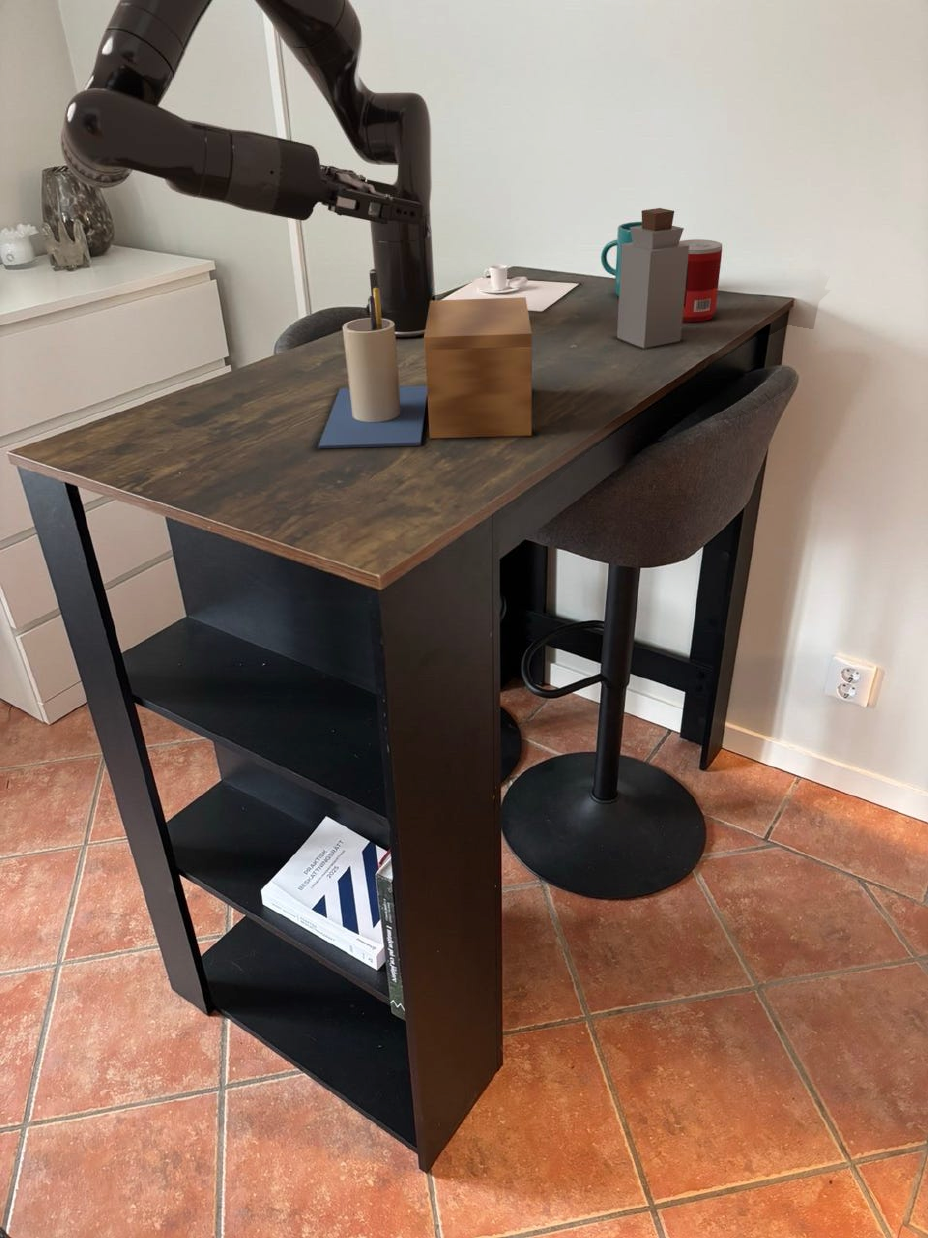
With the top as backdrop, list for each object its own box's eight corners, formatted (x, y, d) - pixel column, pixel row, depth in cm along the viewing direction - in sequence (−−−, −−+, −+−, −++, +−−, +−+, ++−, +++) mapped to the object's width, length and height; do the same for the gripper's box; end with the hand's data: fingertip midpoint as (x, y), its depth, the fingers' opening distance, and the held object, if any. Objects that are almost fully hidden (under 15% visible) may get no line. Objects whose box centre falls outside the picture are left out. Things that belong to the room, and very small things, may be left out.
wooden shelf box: (430, 438, 108) (423, 336, 102) (435, 392, 122) (430, 300, 115) (531, 435, 108) (531, 333, 101) (525, 389, 121) (525, 296, 115)
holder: (343, 419, 114) (329, 293, 105) (365, 402, 118) (353, 281, 110) (388, 424, 112) (377, 296, 103) (409, 407, 116) (400, 283, 108)
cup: (608, 285, 167) (611, 219, 161) (673, 290, 162) (678, 222, 156) (591, 297, 160) (593, 228, 154) (657, 303, 155) (663, 232, 149)
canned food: (721, 312, 149) (729, 240, 143) (704, 325, 143) (712, 250, 137) (676, 307, 152) (683, 237, 146) (658, 319, 147) (664, 247, 141)
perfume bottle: (643, 348, 134) (653, 216, 125) (616, 337, 140) (623, 209, 130) (680, 340, 137) (692, 210, 127) (652, 330, 142) (662, 204, 132)
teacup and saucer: (531, 286, 168) (531, 262, 166) (515, 296, 162) (515, 272, 160) (487, 283, 171) (487, 260, 169) (470, 293, 165) (469, 270, 163)
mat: (318, 448, 107) (318, 445, 107) (340, 390, 124) (340, 388, 124) (420, 445, 107) (420, 442, 106) (428, 388, 123) (428, 385, 123)
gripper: (289, 150, 90) (438, 184, 97) (257, 123, 100) (394, 156, 107) (278, 229, 93) (422, 256, 101) (248, 196, 104) (381, 223, 111)
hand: (407, 204), depth 104 cm, fingers open, 8 cm apart
